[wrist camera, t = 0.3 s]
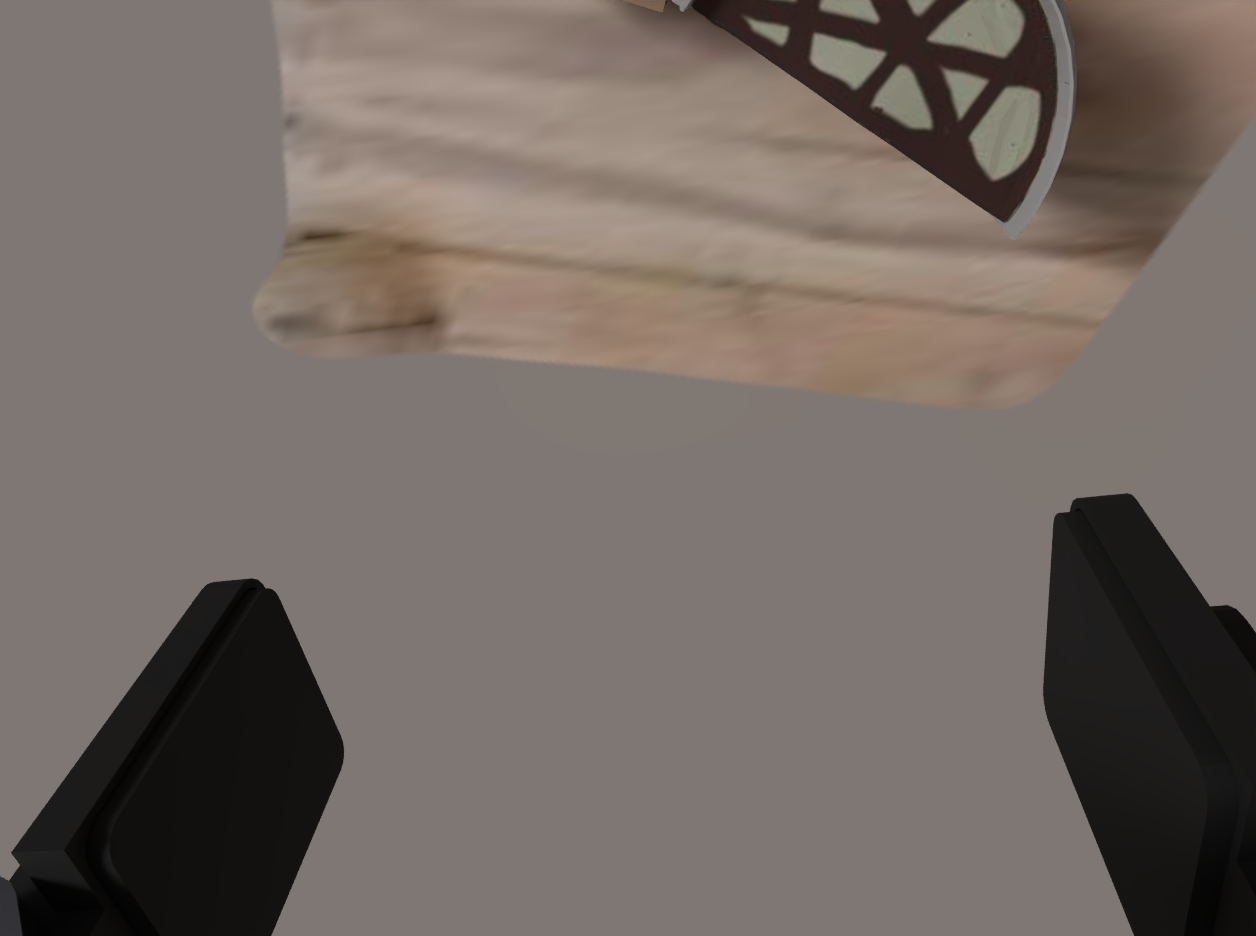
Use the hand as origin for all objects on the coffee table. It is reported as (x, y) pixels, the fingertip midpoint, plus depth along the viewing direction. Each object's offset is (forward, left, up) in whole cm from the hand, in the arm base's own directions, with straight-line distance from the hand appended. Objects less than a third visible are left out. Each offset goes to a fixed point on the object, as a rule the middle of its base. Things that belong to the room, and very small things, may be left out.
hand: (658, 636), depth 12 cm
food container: (-6, +5, -29) cm, 30 cm away
